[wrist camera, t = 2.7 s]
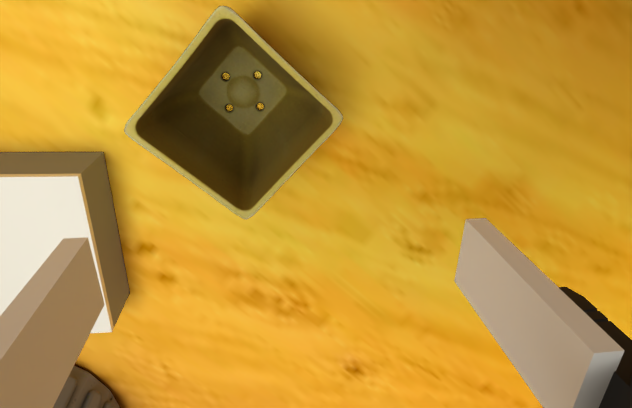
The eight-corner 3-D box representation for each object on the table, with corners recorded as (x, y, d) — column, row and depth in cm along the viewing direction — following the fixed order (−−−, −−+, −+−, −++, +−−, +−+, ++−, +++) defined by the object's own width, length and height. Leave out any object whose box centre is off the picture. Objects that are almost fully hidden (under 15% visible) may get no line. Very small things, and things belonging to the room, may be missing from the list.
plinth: (-87, 152, 31) (-147, 178, 26) (103, 151, 32) (77, 176, 28) (-31, 298, 36) (-72, 341, 32) (129, 292, 38) (112, 332, 33)
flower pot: (250, 171, 34) (246, 224, 26) (156, 97, 31) (118, 131, 23) (325, 88, 32) (347, 118, 24) (233, -1, 29) (222, -1, 21)
